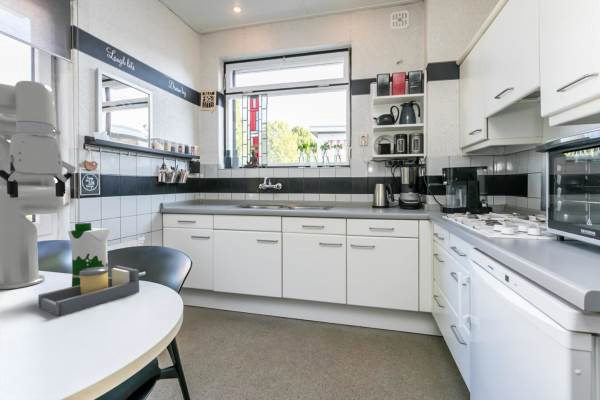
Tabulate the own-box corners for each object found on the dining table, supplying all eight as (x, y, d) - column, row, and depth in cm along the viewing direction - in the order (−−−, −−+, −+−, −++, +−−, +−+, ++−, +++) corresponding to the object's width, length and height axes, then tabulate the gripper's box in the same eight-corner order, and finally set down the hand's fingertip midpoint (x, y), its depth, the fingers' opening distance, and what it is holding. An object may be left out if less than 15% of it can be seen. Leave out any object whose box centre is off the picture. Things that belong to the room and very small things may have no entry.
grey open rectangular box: (38, 307, 79) (37, 282, 79) (118, 285, 96) (117, 265, 96) (58, 315, 73) (57, 288, 73) (139, 291, 90) (138, 269, 90)
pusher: (112, 288, 93) (111, 268, 93) (137, 281, 100) (137, 263, 100) (126, 292, 89) (125, 272, 89) (152, 284, 96) (151, 265, 96)
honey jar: (75, 299, 84) (74, 271, 84) (100, 292, 90) (100, 265, 90) (88, 304, 81) (87, 274, 81) (113, 296, 87) (113, 268, 86)
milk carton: (66, 290, 92) (64, 224, 92) (93, 281, 101) (92, 221, 100) (88, 292, 90) (87, 224, 89) (115, 283, 99) (113, 221, 98)
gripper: (67, 137, 89) (69, 196, 90) (-16, 127, 74) (-13, 197, 75) (80, 135, 85) (82, 196, 86) (-5, 123, 71) (-2, 198, 71)
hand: (38, 197), depth 80 cm, fingers open, 9 cm apart
